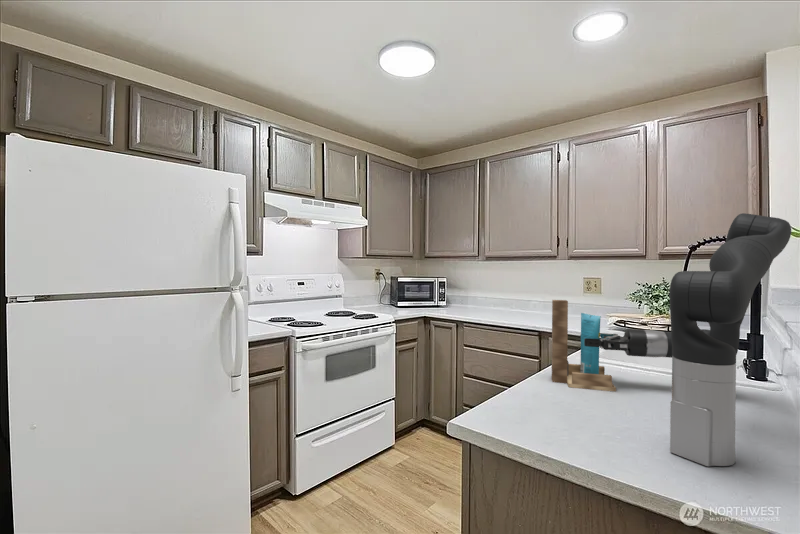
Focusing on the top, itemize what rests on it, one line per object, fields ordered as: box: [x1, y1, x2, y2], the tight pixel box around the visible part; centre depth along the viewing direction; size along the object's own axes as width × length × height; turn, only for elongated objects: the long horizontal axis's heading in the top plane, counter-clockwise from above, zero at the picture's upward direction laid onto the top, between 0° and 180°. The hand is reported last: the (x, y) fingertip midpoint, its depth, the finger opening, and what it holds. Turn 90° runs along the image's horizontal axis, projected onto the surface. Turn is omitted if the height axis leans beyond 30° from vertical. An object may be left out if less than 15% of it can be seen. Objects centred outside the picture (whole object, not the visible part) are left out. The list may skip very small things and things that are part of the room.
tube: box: [579, 312, 602, 374], centre depth 116 cm, size 7×5×19 cm, turn 23°
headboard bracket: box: [551, 299, 617, 392], centre depth 117 cm, size 16×12×24 cm
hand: (582, 339), depth 117 cm, fingers open, 8 cm apart
